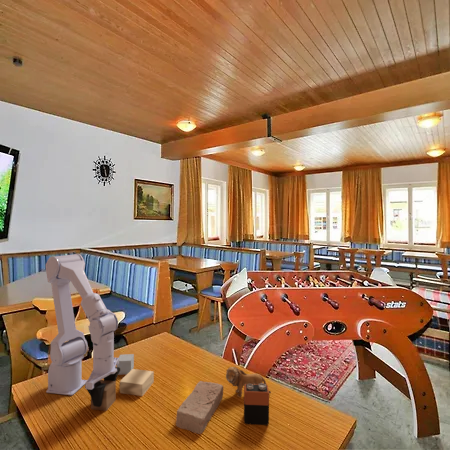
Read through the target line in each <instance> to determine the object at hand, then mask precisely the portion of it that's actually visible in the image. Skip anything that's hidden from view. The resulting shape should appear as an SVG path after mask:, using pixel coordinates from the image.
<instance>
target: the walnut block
mask: <svg viewBox="0 0 450 450" xmlns="http://www.w3.org/2000/svg"><path fill="white" fill-rule="evenodd" d="M116 381H117V380H116ZM116 381H108V380H104V379H101V380H100V382H101V383H104V384H106V386H105V388H104V392H103V399H102V405H101V406H100V407H96V406H94V405H93V402H92V398H91V397H90V409H91V410H96V411H104V412H106V411H108V410H109V409H110V408H111V406H113V404H114V403H115V402H116V398H117V397H116V396H117V394H116V390H117V389H116V388H117V387H116V386H117V384H116V383H117V382H116Z"/></svg>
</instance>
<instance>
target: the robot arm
mask: <svg viewBox="0 0 450 450" xmlns="http://www.w3.org/2000/svg"><path fill="white" fill-rule="evenodd" d="M85 267H86V261H85V260H84V258H83V256H82V254H80V253H75V254H64V255H57V256H54V255H53V256H49V257H48V259H47V261H46V263H45V273H46V279H47V282H48V283H50V287H51V292H52V299H53V305H54V312H55V319H56V325H57V332H58V333H57V335H56V336H55V337H54V338H53V339H52V340H51V342H50V352H49V357H50V361H51V363H50V365H49V367H48V371H47V390H46V393H47V394H58V395H65V396H67V395H68V396H73V395H74V394H76V392H78V391H79V390H80V389H81V388H83V386H84V389H85V390H87V392H88V394H89V395H90V399H91V398H92V402H93V405H94V406H96V407H100V406H101V405H102V399H103V392H104V388H105V386H106V384H104V383H101V382H100V380H108V381H117V378H118V374H119V372H120V368H119V367H117V365H118V364H119V357H115V356H114V353H115V348H114V347H115V341H114V340H115V339H114V338H115V334H114V333H115V331H116V330H118V326H119V321H118V317H117V315H116V313H114V312H112V311H111V310H110V309H107V307H106V305H105V303H104V301H103V299H102V298H101V296H100V294H99V293H96V292H94V290H93V287H92V285H91V284H90V281H89V279H88V277H87V275H86V273H85V269H86V268H85ZM70 282H71V284H72V286H73V287H74V288H75V290H76V292H77V293H78V295H79V296H80V297H81V302H80V306H81V308H82V310H83V312H84V314H85V316H86V317H87V319H88V321H89V325H88V331H89V334H90V339H91V342H92V347H93V348H92V349H93V351H92V353H93V354H92V355H93V357H92V359H93V361H92V362H93V364H92V366H93V367H92V371H91V372H90V373H91V374H90V375H89V377H88V379H82V377H83V376H82V373H83V371H82V368H83V367H82V361H83V360H82V359H84V355H86V353H87V351H88V341H87V339H86V338H85V334H84V332H83V331H81V330H79V329H77V327H76V319H75V314H74V306H73V302H72V301H73V299H72V295H71V290H70V289H71V288H70Z"/></svg>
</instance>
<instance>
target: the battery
mask: <svg viewBox="0 0 450 450" xmlns="http://www.w3.org/2000/svg"><path fill="white" fill-rule="evenodd" d="M243 389H244V390H243V396H244V397H243V423H244V424H245V425H255V426H256V425H258V426H261V425H262V426H268V425H269V424H270V393H269V391H270V390H269V387H268V384H267V383H266V384H264V382H263V383H260V384H245V385H244V386H243Z"/></svg>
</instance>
